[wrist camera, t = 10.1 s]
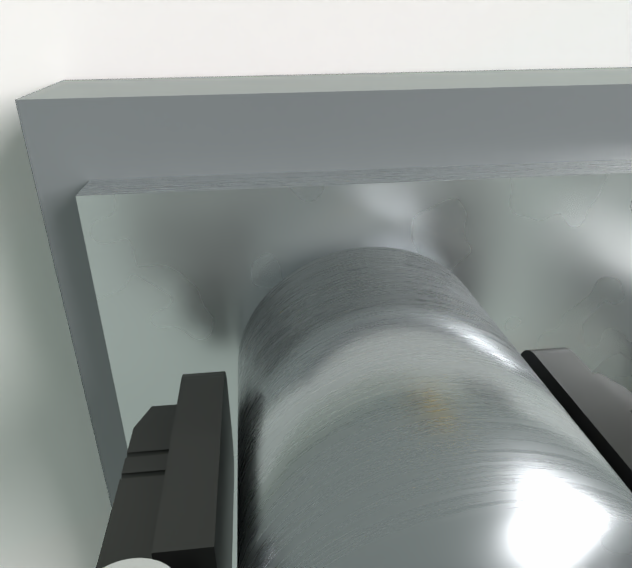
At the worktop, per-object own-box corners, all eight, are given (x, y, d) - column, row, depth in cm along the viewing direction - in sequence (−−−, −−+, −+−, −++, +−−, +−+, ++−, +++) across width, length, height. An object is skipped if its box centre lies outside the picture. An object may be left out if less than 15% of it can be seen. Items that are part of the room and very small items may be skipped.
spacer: (499, 239, 10) (770, 482, 5) (469, 445, 13) (636, 766, 7) (227, 254, 10) (214, 543, 5) (246, 467, 12) (251, 828, 7)
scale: (721, 65, 14) (1794, 196, 4) (570, 586, 23) (811, 1016, 13) (63, 79, 13) (-571, 334, 3) (172, 633, 21) (112, 1159, 12)
